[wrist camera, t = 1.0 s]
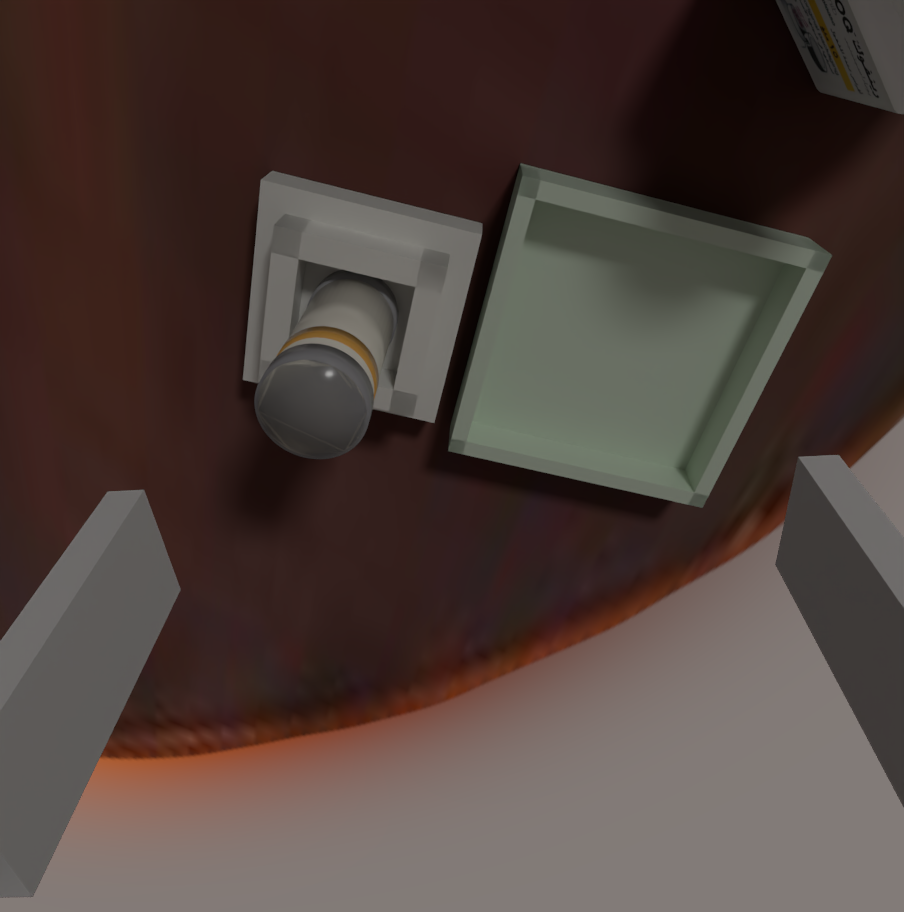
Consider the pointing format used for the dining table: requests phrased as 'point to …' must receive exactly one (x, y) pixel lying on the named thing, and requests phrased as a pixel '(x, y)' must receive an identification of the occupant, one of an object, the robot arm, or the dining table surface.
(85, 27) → the dining table surface
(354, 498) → the dining table surface
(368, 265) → the holder
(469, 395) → the tray
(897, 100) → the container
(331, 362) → the fuse
